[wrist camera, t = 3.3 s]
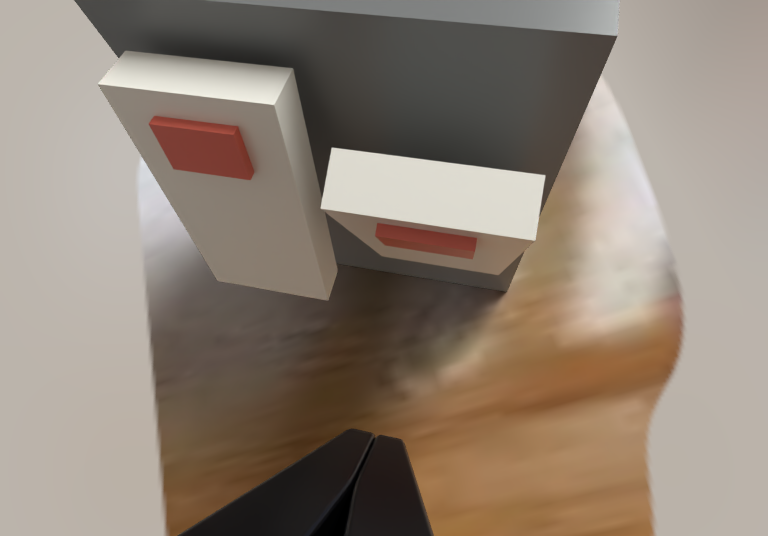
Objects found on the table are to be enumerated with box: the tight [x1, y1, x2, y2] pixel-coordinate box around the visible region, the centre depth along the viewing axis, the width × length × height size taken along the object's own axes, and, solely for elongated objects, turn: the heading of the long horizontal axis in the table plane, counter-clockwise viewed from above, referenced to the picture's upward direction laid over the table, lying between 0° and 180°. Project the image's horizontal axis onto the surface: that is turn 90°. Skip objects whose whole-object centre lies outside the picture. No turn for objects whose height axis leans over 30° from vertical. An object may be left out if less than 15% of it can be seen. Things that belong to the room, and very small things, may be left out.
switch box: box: [75, 0, 620, 292], centre depth 17 cm, size 5×11×14 cm, turn 78°
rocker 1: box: [98, 51, 338, 301], centre depth 14 cm, size 2×4×8 cm, turn 78°
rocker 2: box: [320, 148, 545, 275], centre depth 13 cm, size 2×4×8 cm, turn 78°
